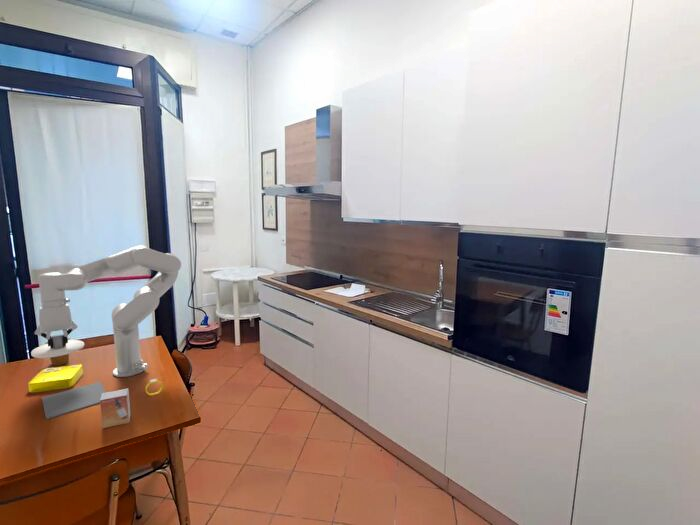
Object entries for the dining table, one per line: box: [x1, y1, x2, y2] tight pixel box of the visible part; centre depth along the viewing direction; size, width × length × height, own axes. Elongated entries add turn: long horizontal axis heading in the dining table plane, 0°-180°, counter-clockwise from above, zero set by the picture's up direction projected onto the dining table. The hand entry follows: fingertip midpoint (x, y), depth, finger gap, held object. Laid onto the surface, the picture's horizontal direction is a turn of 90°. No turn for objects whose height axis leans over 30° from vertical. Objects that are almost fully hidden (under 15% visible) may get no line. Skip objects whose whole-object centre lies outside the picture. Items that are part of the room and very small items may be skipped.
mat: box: [41, 381, 107, 421], centre depth 137 cm, size 19×19×1 cm
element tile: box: [27, 363, 84, 394], centre depth 151 cm, size 15×15×5 cm
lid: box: [30, 334, 85, 359], centre depth 145 cm, size 17×17×6 cm
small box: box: [99, 388, 131, 429], centre depth 123 cm, size 8×6×10 cm
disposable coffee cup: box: [44, 335, 72, 366], centre depth 169 cm, size 10×10×12 cm
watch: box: [144, 378, 164, 397], centre depth 142 cm, size 6×3×6 cm, turn 127°
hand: (58, 345), depth 145 cm, fingers closed on lid, 3 cm apart
